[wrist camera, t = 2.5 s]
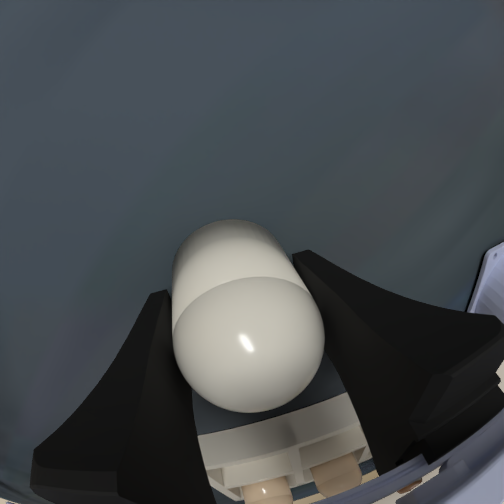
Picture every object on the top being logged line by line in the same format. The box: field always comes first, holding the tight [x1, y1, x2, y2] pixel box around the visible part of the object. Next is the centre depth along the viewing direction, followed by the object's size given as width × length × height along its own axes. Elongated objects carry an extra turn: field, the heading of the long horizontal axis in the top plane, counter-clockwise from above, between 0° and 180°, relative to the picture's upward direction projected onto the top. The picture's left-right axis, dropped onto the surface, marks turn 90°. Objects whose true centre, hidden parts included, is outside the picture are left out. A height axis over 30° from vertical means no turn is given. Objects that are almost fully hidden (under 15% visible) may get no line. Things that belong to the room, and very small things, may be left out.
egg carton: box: [198, 392, 372, 501], centre depth 21 cm, size 21×14×3 cm
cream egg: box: [172, 219, 325, 413], centre depth 9 cm, size 4×4×6 cm
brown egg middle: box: [310, 452, 362, 498], centre depth 21 cm, size 4×4×6 cm
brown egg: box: [241, 475, 293, 504], centre depth 21 cm, size 4×4×6 cm
